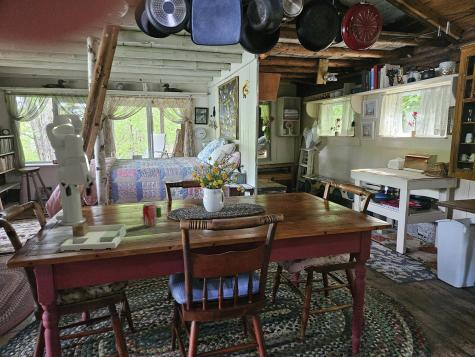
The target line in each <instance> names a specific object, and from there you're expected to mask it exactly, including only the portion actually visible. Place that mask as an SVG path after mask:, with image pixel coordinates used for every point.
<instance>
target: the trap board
mask: <svg viewBox="0 0 475 357" xmlns="http://www.w3.org/2000/svg"><path fill="white" fill-rule="evenodd" d="M87 226H88V233H87V234H86V235H85V236H81V237H73V235H72V236H70V237H69V238H68V239H67V240H65V241H64V242H63V243H61V245H60V252H65V251H64V250H75V251H81V250H80V249H93V250H104V249H105V250H107V249H106V248H111V249H116V248H117V247H118V245H119V244H120V243H121V241H123V238H124V237H125V235H126V234H127V229H126V224H125V223H124V224H122V223H121V224H101V225H100V224H99V225H87Z"/></svg>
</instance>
